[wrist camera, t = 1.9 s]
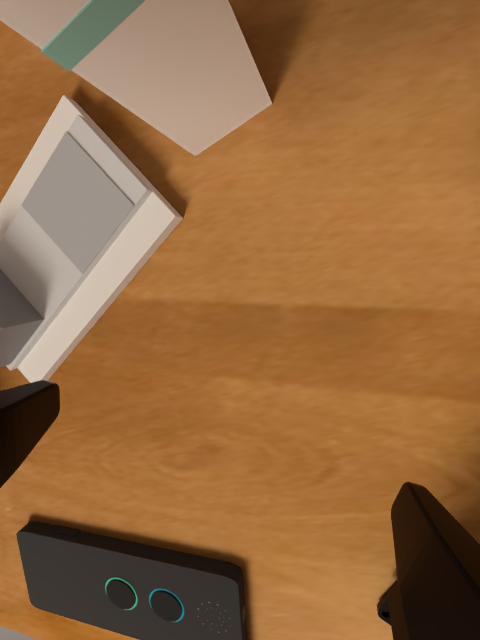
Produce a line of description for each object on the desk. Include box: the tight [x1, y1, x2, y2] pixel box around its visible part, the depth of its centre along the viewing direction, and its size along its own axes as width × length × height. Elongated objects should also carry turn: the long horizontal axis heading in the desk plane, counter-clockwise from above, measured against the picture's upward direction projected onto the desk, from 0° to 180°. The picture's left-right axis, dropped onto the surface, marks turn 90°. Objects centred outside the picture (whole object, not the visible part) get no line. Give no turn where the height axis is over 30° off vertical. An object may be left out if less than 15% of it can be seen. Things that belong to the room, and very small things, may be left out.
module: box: [0, 0, 272, 156], centre depth 12 cm, size 6×5×12 cm
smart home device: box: [17, 522, 247, 640], centre depth 27 cm, size 8×2×20 cm
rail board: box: [0, 95, 183, 383], centre depth 21 cm, size 10×17×5 cm, turn 134°
